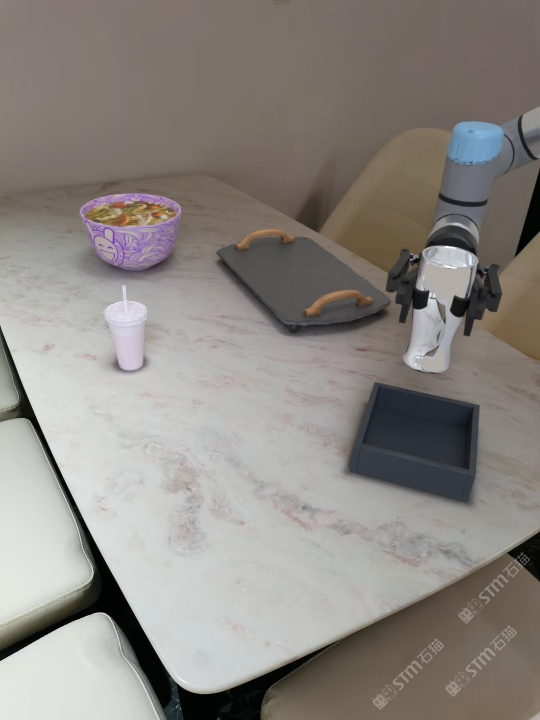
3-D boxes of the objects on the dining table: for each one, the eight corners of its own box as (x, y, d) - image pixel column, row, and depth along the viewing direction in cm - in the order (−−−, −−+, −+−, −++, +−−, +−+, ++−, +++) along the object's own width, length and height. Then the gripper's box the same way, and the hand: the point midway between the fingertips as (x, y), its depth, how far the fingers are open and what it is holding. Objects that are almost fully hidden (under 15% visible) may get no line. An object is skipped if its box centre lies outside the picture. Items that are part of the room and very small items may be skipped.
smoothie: (113, 378, 91) (103, 297, 83) (107, 356, 96) (97, 277, 88) (155, 371, 93) (149, 291, 85) (147, 350, 98) (141, 272, 90)
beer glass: (407, 342, 83) (428, 240, 75) (457, 356, 80) (485, 252, 72) (393, 366, 78) (413, 259, 69) (446, 382, 75) (474, 273, 67)
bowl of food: (88, 287, 115) (81, 230, 109) (84, 247, 131) (77, 195, 125) (191, 279, 120) (189, 224, 114) (175, 241, 136) (173, 191, 130)
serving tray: (209, 257, 130) (208, 230, 126) (302, 243, 139) (304, 217, 135) (291, 345, 101) (293, 313, 98) (401, 321, 110) (407, 291, 107)
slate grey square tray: (471, 430, 85) (479, 404, 82) (466, 502, 73) (475, 475, 70) (370, 406, 88) (374, 381, 85) (349, 472, 76) (354, 445, 74)
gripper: (514, 284, 88) (515, 364, 70) (381, 260, 93) (349, 329, 74) (528, 235, 84) (534, 307, 66) (388, 214, 89) (357, 275, 70)
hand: (436, 319), depth 70 cm, fingers closed on beer glass, 7 cm apart
